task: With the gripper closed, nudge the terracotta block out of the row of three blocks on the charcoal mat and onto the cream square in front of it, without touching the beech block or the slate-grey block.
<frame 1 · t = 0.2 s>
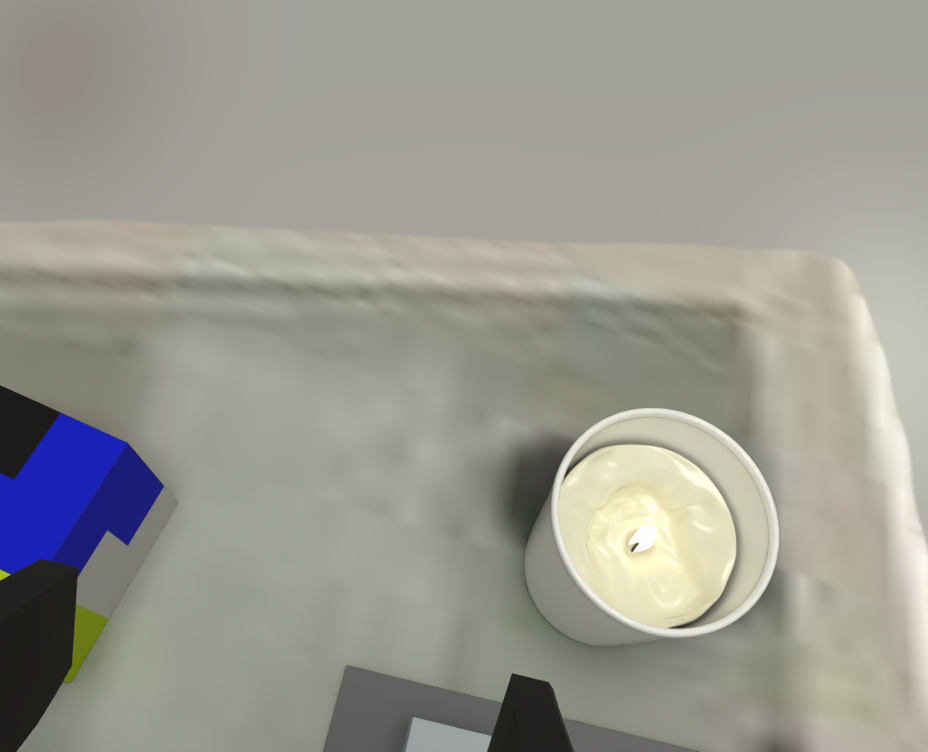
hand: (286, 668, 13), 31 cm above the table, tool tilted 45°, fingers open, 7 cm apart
puzzle toy: (44, 550, 43), on the table
candle holder: (596, 569, 45), on the table
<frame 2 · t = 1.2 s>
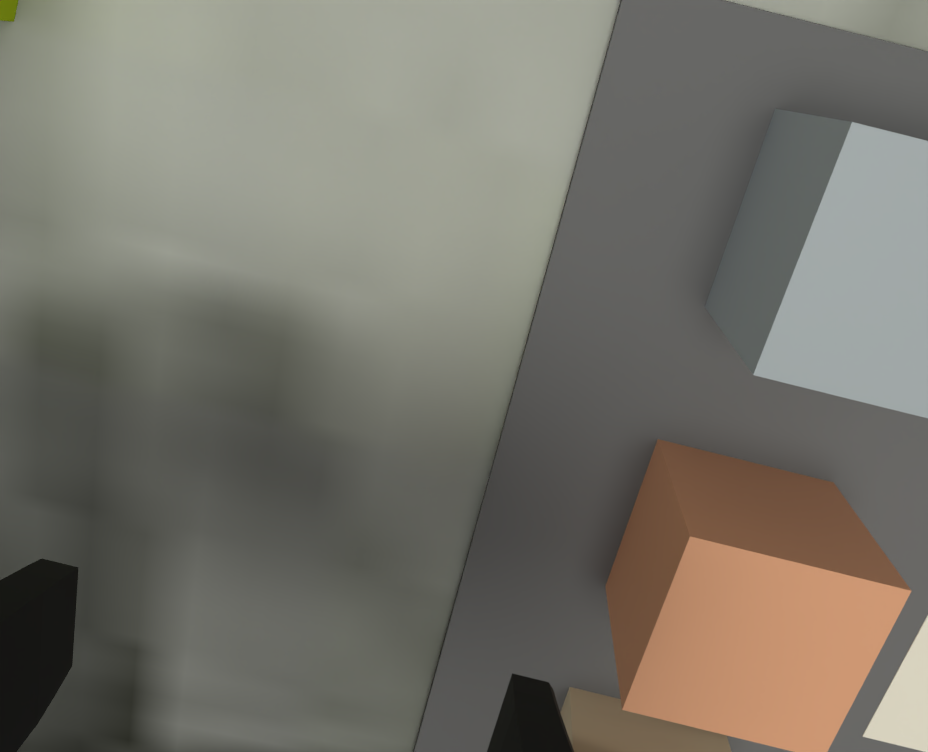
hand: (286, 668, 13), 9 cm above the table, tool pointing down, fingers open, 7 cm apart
slate block: (836, 236, 18), resting on mat
terracotta block: (715, 536, 21), resting on mat
mat: (897, 575, 21), on the table
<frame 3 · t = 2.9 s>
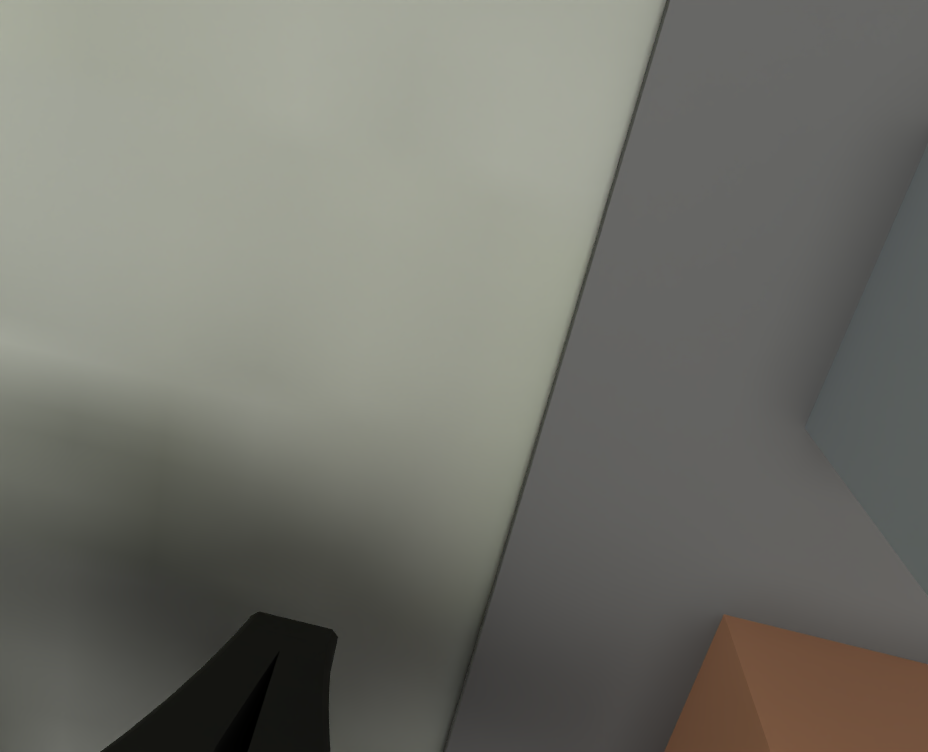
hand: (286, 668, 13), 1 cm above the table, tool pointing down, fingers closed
terracotta block: (803, 746, 14), resting on mat
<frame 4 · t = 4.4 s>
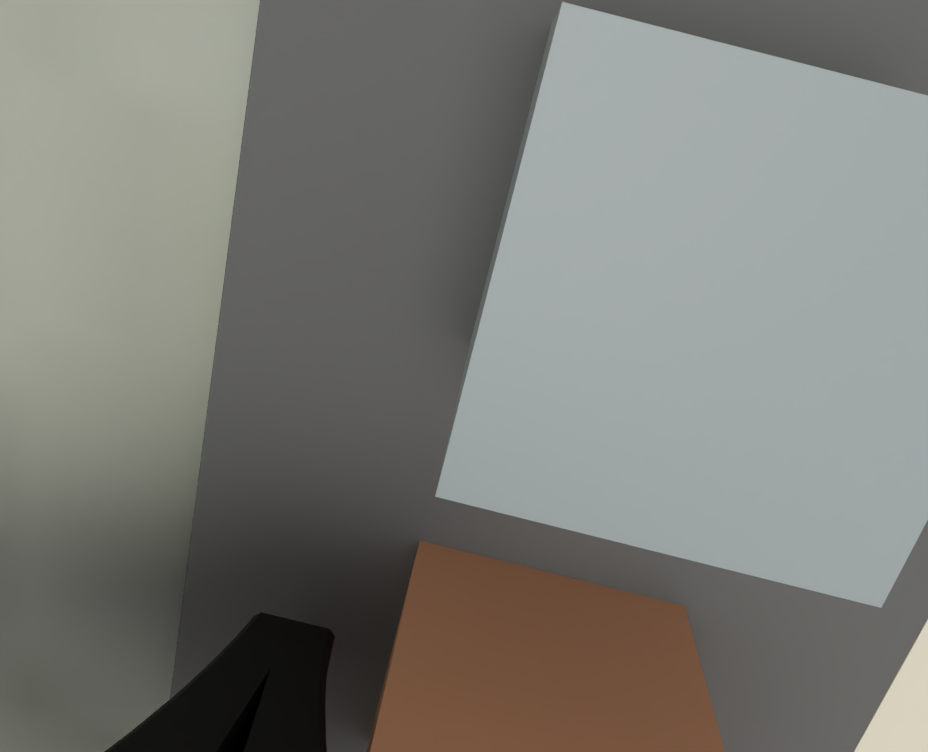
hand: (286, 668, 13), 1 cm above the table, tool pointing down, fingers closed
slate block: (664, 236, 11), resting on mat
terracotta block: (517, 677, 14), resting on mat, touching gripper
mat: (789, 732, 15), on the table
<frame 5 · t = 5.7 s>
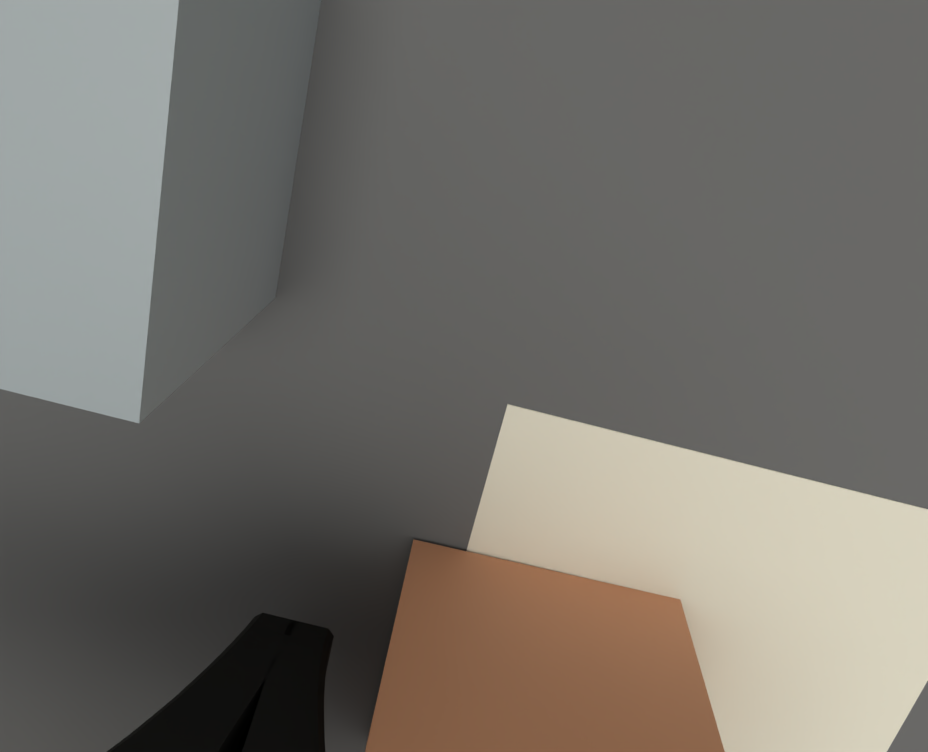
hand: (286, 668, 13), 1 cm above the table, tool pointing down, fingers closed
slate block: (140, 105, 11), resting on mat
terracotta block: (514, 675, 14), resting on mat, touching gripper
mat: (383, 632, 15), on the table
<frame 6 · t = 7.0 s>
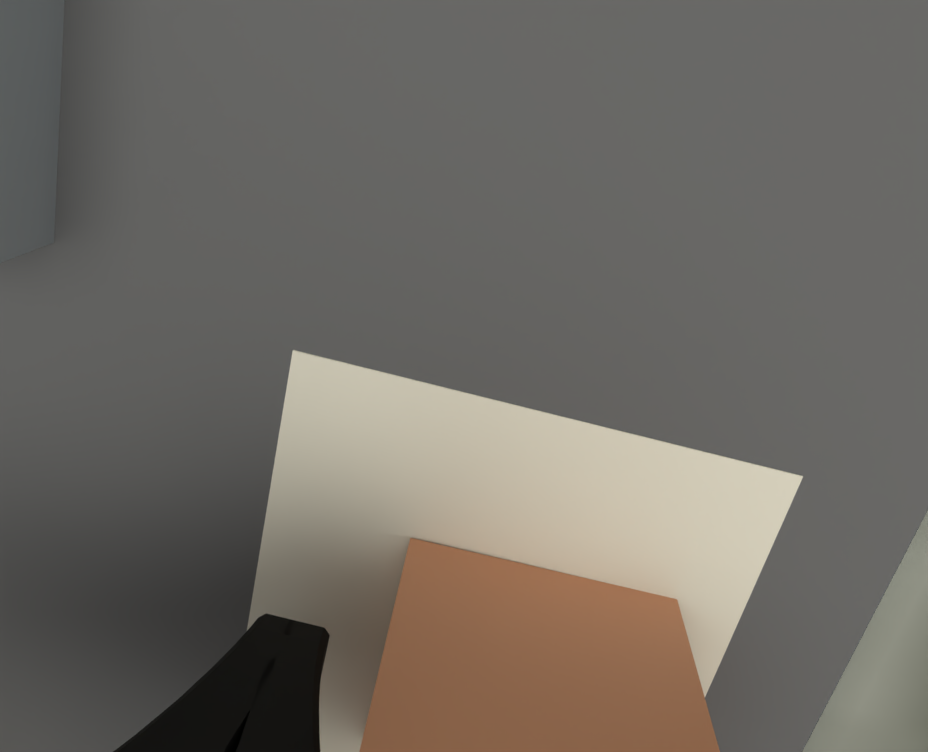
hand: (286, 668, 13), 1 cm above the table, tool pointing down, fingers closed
terracotta block: (511, 674, 14), resting on mat, touching gripper
mat: (200, 587, 15), on the table
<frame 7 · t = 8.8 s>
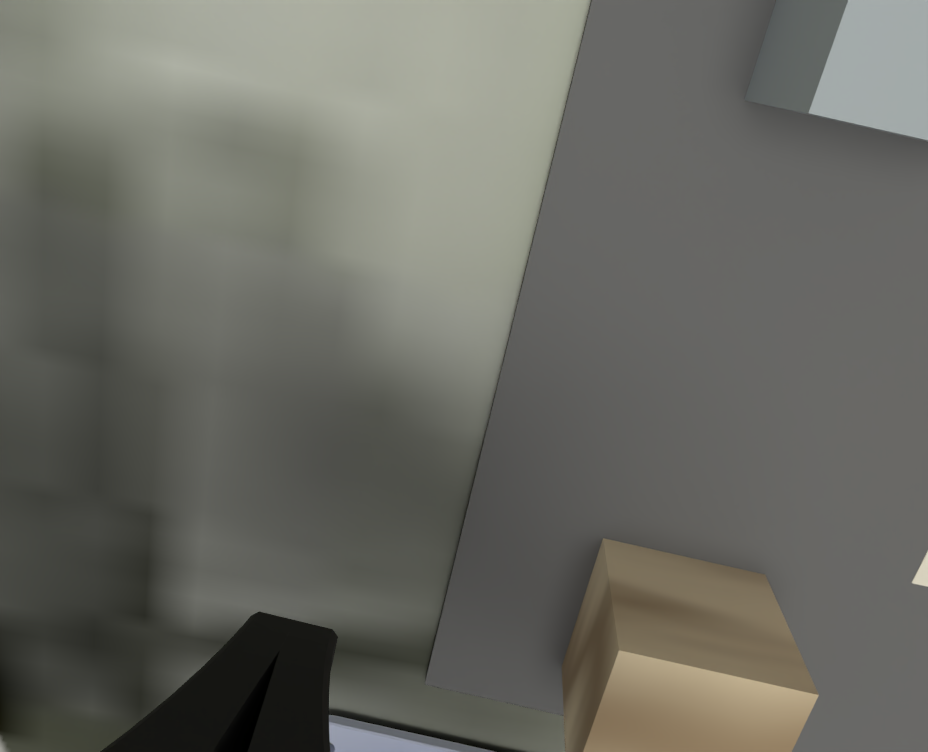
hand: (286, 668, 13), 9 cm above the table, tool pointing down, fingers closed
slate block: (885, 12, 17), resting on mat
beech block: (659, 622, 23), resting on mat
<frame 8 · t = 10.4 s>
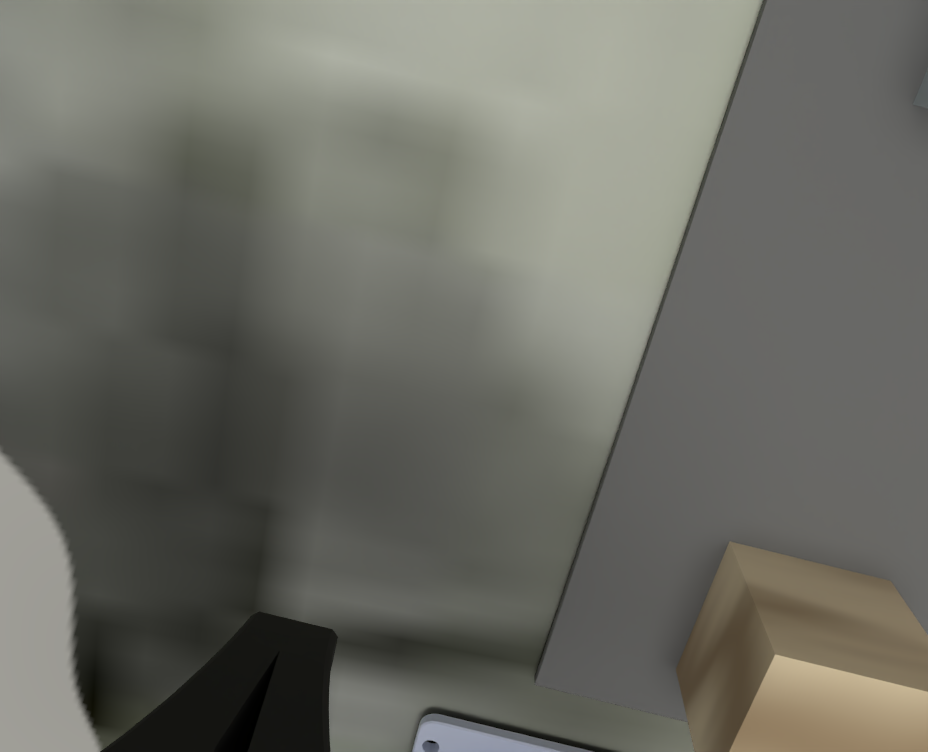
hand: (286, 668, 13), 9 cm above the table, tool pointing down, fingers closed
beech block: (779, 626, 23), resting on mat
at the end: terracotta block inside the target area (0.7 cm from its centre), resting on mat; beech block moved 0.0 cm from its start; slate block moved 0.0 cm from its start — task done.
